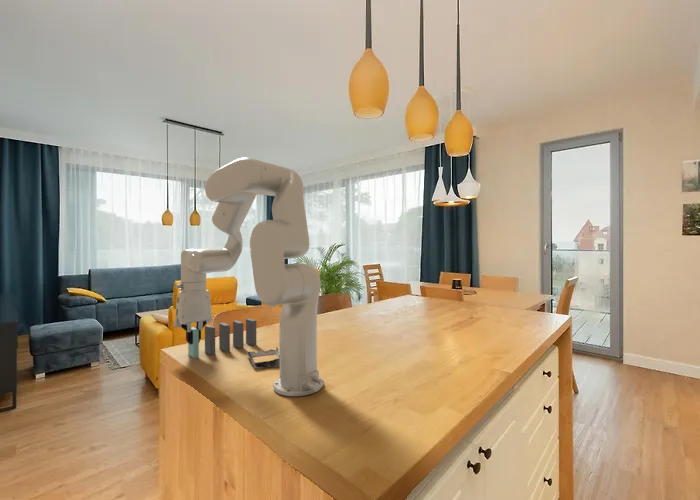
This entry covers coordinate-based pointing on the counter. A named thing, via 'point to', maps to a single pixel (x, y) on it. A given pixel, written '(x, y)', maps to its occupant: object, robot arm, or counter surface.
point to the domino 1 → (210, 340)
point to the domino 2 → (224, 337)
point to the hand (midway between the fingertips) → (193, 342)
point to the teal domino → (194, 344)
